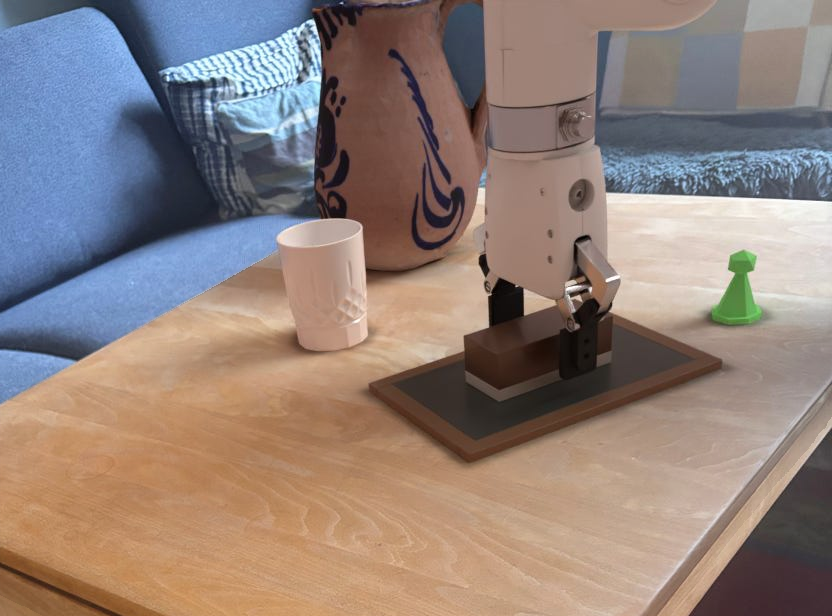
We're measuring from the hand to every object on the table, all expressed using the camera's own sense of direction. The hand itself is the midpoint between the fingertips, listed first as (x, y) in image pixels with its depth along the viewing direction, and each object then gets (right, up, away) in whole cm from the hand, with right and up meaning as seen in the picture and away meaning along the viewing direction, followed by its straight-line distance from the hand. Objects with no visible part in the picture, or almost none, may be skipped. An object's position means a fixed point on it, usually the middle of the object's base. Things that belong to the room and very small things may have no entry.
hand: (540, 355), depth 79 cm
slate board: (0, -2, +2) cm, 2 cm away
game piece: (+19, +5, +7) cm, 20 cm away
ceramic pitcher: (-8, +20, +30) cm, 37 cm away
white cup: (-17, +6, +14) cm, 23 cm away
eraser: (0, -1, +1) cm, 1 cm away
